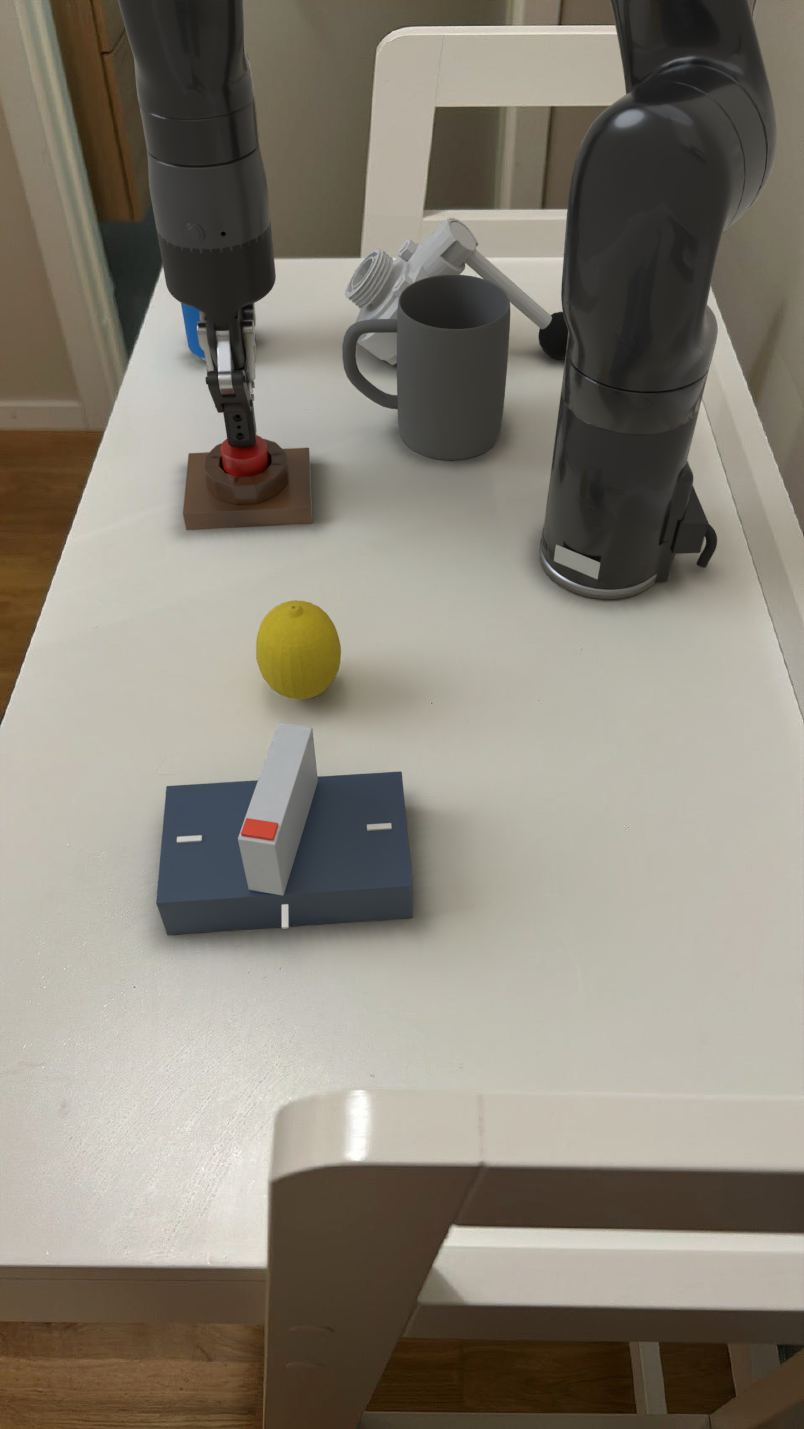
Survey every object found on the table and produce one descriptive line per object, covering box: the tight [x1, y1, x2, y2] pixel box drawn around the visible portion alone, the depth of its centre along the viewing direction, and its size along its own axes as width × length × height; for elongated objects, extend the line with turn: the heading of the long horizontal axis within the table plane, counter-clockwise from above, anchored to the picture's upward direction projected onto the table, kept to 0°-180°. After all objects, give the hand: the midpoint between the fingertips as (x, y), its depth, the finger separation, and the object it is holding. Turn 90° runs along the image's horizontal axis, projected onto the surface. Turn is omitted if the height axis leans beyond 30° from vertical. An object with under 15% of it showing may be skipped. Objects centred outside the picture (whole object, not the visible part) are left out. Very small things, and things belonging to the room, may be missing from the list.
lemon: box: [255, 600, 342, 700], centre depth 68 cm, size 6×6×8 cm
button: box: [221, 434, 269, 477], centre depth 83 cm, size 4×4×2 cm
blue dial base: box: [155, 771, 414, 936], centre depth 61 cm, size 14×12×4 cm
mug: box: [341, 274, 511, 461], centre depth 87 cm, size 14×9×12 cm
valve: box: [344, 217, 568, 366], centre depth 98 cm, size 10×20×15 cm
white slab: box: [238, 722, 319, 895], centre depth 58 cm, size 8×2×5 cm, turn 169°
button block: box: [182, 438, 313, 531], centre depth 84 cm, size 10×8×4 cm
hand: (242, 441), depth 82 cm, fingers closed
